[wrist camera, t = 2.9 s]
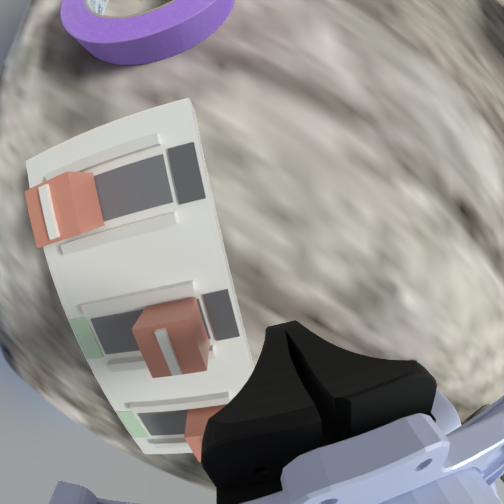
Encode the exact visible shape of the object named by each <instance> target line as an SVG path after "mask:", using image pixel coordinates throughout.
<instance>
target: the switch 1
mask: <svg viewBox="0 0 504 504" xmlns="http://www.w3.org/2000/svg"><path fill="white" fill-rule="evenodd" d="M24 192H25V198H26V203H27V208H28V213H29V217H30V222H31V226H32V230H33V234H34V238H35V242H36V246H37V249H38V248H41V247H44V246H46V245H49V244H52V243H55V242H58V241H61V240H64V239H67V238H71V237H74V236H77V235H80V234H83V233H85V232H88V231H91V230H93V229H96V228H99V227H101V226H104V221H103V217H102V213H101V208H100V204H99V200H98V195H97V190H96V186H95V181H94V175H93V172H69V171H67V172H65V173H63V174H60V175H58V176H56V177H54V178H51V179H49V180H47V181H45V182H43V183H41V184H38V185H36V186H34V187H32V188H30V189H28V190H26V191H24Z"/></svg>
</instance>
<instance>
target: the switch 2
mask: <svg viewBox="0 0 504 504" xmlns="http://www.w3.org/2000/svg"><path fill="white" fill-rule="evenodd" d="M226 405H227V404H224V405H217V406H210V407H203V408H195V409H188V413H187V420H186V427H185V434H184V438H185V440H186V442H187V443H188V445H189V447H190V448H191V450H192V452H193V453H194V455H195V456H196V458H197V460H198V461H199V463H201V447H202V440H203V435H204V431H205V428H206V424H207V421H208V419H209V418H210V417H212V416H213V415H214V414H216V413H217V412H218V411H220V410H221V409H222V408H223V407H225V406H226Z"/></svg>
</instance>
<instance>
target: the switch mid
mask: <svg viewBox="0 0 504 504" xmlns="http://www.w3.org/2000/svg"><path fill="white" fill-rule="evenodd" d="M132 332H133V334H134V337H135V339H136V342H137V344H138V347H139V349H140V351H141V353H142V356H143V358H144V360H145V363H146V365H147V367H148V369H149V371H150V373H151V376H152V378H159V377H167V376H176V375H182V374H190V373H196V372H203V371H207V366H208V356H209V346H210V342H209V339H208V336H207V332H206V329H205V326H204V323H203V320H202V316H201V313H200V310H199V306H198V303H197V300H196V297H192V298H187V299H182V300H177V301H172V302H167V303H162V304H157V305H152V306H147V307H145V309H144V310H143V312H142V314H141V315H140V317H139V318H138V320H137V321H136V323H135V325H134V326H133V328H132Z"/></svg>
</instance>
